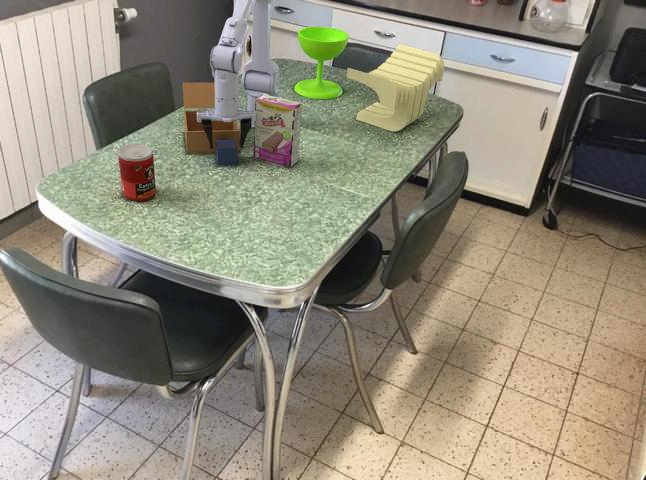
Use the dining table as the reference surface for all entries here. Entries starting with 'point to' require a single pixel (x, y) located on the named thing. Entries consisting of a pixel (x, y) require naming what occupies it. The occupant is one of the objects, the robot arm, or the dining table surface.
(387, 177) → the dining table surface
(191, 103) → the flap
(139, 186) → the canned food
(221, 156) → the cube
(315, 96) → the wineglass
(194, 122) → the carton
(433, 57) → the slatted curved stool
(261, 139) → the candy bar box
